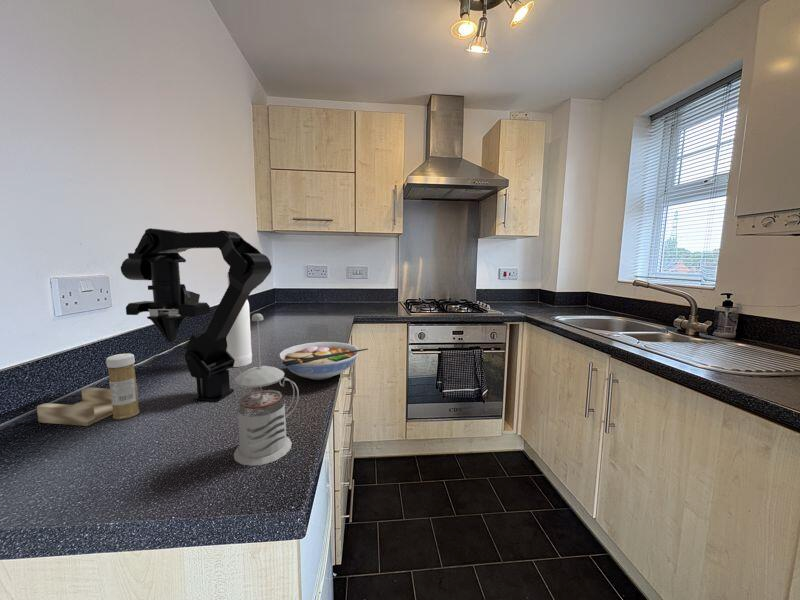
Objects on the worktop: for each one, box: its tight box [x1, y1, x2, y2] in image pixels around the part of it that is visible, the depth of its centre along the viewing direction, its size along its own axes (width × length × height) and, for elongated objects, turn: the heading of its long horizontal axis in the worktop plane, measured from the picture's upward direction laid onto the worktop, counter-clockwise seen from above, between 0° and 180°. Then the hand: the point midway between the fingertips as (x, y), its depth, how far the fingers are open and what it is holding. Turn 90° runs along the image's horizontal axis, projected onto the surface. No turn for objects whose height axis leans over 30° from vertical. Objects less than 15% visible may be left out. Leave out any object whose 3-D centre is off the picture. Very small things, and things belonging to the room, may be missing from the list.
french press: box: [233, 313, 300, 467], centre depth 58 cm, size 10×12×25 cm
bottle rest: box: [36, 387, 113, 427], centre depth 71 cm, size 12×10×4 cm
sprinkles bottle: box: [105, 353, 140, 421], centre depth 69 cm, size 5×5×13 cm
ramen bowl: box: [278, 341, 369, 381], centre depth 95 cm, size 25×23×8 cm
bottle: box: [226, 274, 253, 368], centre depth 104 cm, size 8×8×30 cm
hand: (171, 342), depth 82 cm, fingers closed
